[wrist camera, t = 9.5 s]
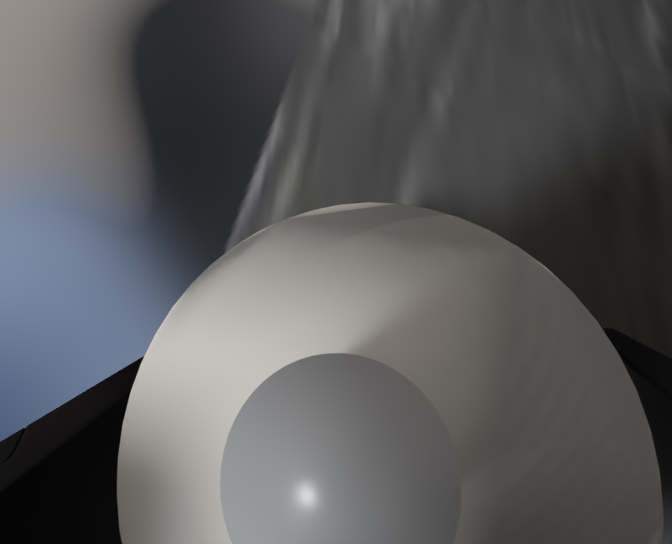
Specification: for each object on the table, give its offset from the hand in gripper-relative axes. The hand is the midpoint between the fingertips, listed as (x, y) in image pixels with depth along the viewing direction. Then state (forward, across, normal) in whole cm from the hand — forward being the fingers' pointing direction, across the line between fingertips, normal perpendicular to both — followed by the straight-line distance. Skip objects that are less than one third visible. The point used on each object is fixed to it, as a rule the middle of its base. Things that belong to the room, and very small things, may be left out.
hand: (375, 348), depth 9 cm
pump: (+5, 0, +7) cm, 8 cm away
